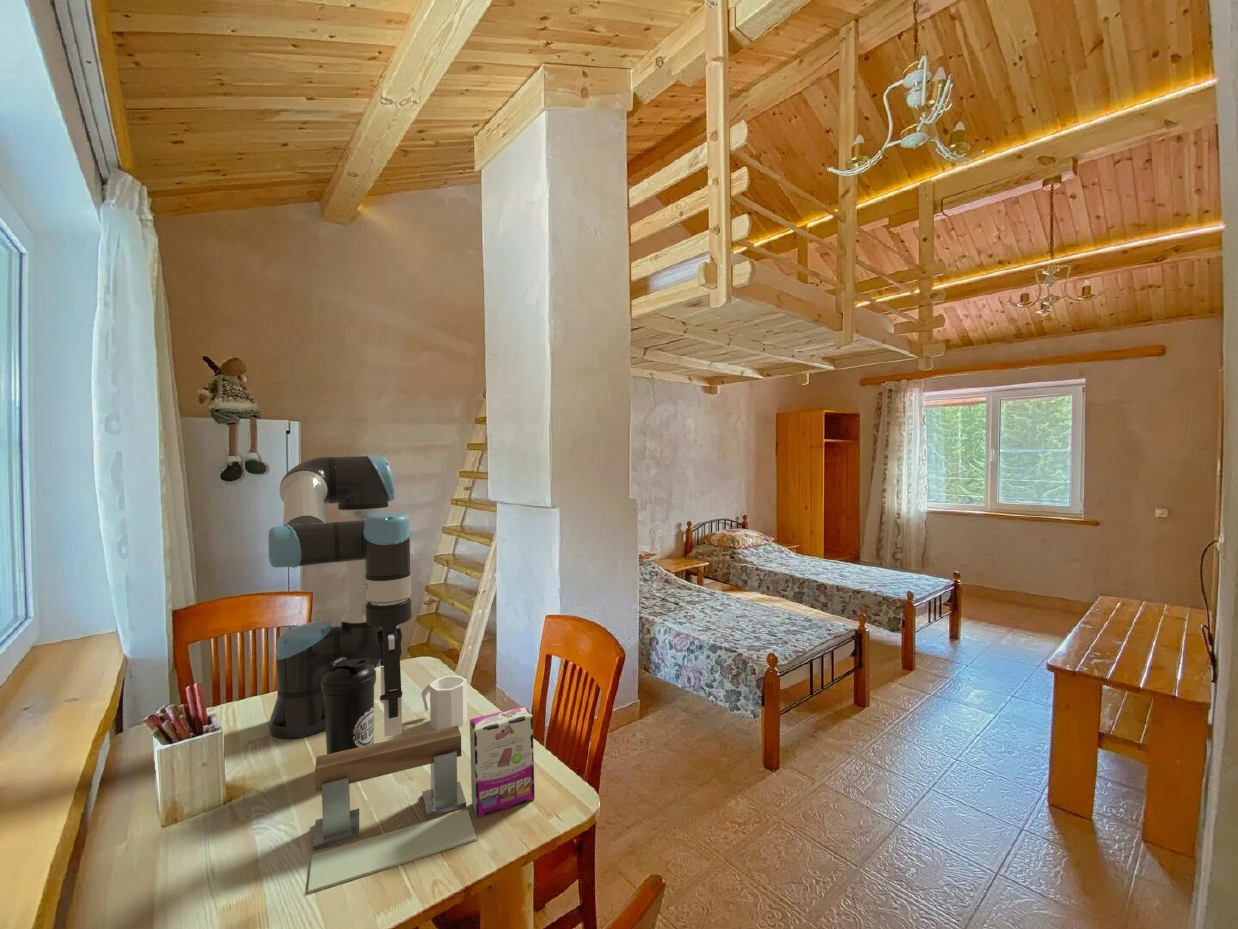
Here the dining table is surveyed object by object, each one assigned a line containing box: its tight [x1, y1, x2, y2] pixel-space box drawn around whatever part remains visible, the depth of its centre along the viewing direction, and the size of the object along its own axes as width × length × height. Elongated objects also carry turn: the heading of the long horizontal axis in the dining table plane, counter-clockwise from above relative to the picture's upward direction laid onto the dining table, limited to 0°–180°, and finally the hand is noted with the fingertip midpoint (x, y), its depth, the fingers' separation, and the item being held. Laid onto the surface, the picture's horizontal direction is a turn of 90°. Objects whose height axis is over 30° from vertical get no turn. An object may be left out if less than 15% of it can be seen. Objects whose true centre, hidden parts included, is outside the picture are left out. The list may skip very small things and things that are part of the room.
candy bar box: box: [469, 705, 535, 818], centre depth 102 cm, size 11×5×16 cm, turn 118°
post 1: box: [312, 777, 360, 852], centre depth 94 cm, size 7×7×11 cm
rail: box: [314, 725, 462, 793], centre depth 98 cm, size 4×24×4 cm, turn 116°
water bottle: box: [321, 656, 377, 755], centre depth 112 cm, size 10×10×23 cm
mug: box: [421, 675, 468, 730], centre depth 132 cm, size 12×9×10 cm
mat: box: [307, 809, 477, 895], centre depth 90 cm, size 8×25×1 cm, turn 116°
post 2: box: [421, 751, 467, 819], centre depth 102 cm, size 7×7×11 cm
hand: (391, 716), depth 97 cm, fingers open, 13 cm apart
